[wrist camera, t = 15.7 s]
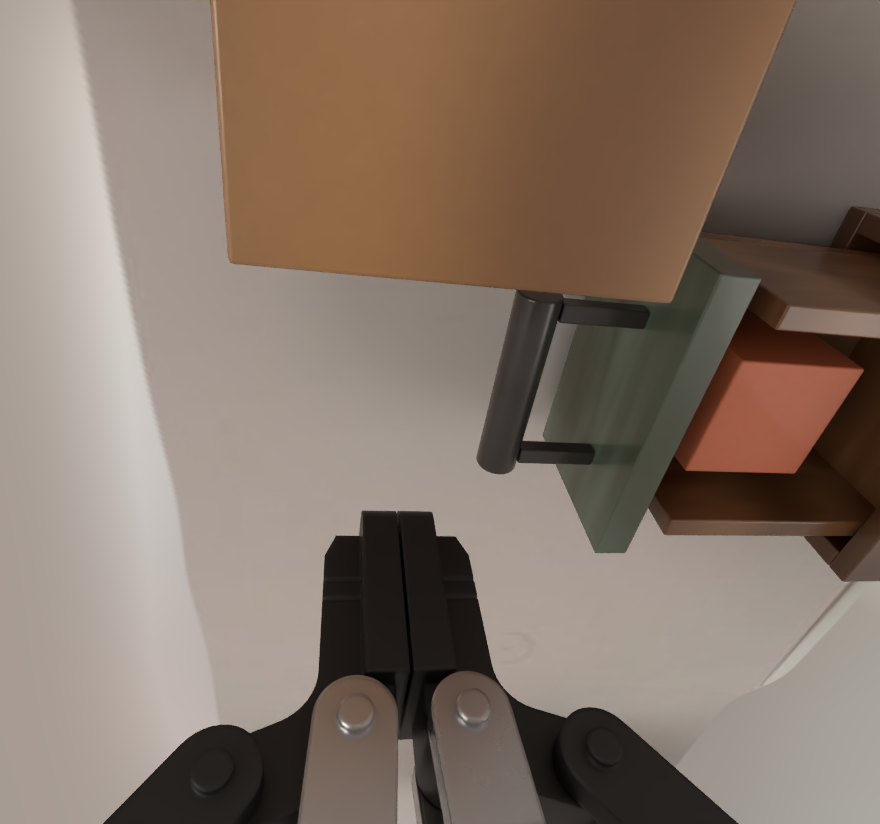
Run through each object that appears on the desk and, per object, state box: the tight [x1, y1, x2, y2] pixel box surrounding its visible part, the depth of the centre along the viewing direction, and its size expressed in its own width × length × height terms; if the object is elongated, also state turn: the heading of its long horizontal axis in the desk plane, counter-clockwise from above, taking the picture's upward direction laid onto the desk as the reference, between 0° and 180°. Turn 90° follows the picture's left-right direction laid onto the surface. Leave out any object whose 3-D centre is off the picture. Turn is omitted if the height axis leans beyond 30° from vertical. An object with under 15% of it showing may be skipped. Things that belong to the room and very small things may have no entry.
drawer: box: [477, 232, 880, 553], centre depth 20 cm, size 17×10×7 cm, turn 81°
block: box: [674, 309, 864, 474], centre depth 21 cm, size 4×4×4 cm
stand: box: [210, 0, 796, 303], centre depth 11 cm, size 7×7×12 cm
